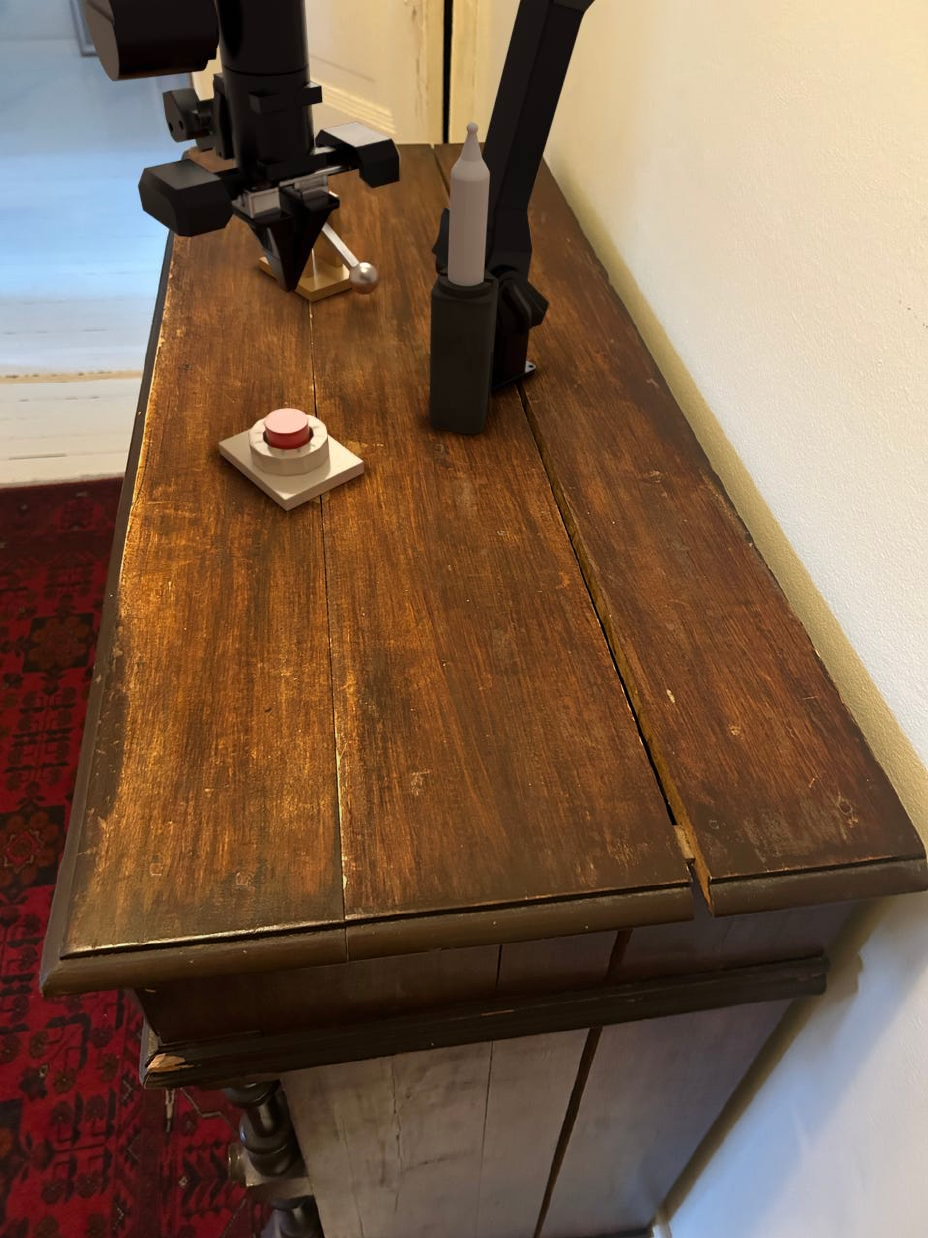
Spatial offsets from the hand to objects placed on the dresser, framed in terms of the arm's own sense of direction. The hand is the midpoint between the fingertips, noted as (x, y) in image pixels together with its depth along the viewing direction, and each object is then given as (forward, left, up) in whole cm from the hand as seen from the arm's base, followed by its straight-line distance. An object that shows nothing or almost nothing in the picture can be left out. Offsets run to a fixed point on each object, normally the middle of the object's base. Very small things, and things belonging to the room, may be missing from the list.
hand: (287, 289), depth 69 cm
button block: (-3, +4, -13) cm, 14 cm away
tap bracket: (+24, -18, -13) cm, 33 cm away
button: (-3, +4, -11) cm, 12 cm away
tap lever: (+20, -18, -10) cm, 29 cm away
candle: (-7, -12, -14) cm, 20 cm away
